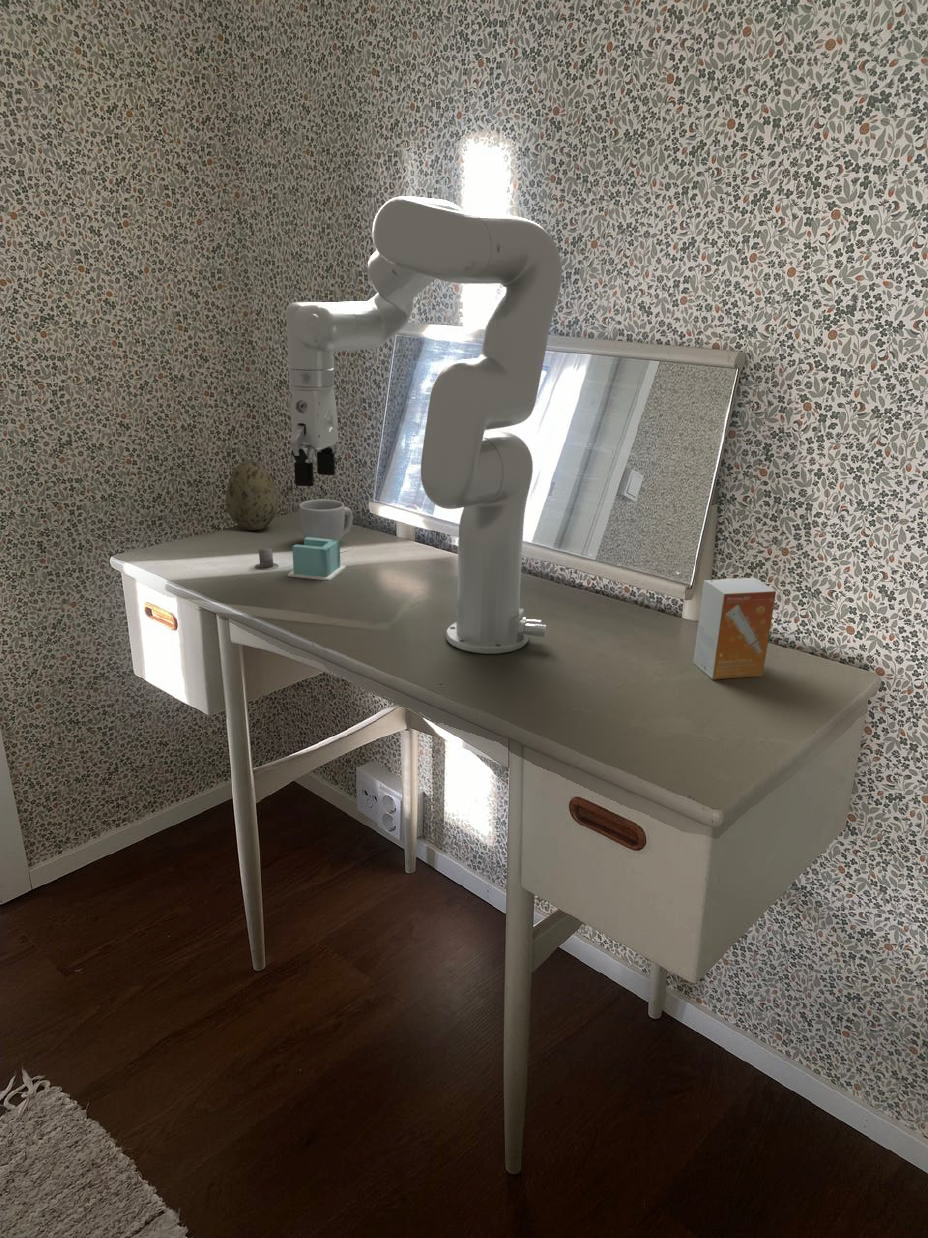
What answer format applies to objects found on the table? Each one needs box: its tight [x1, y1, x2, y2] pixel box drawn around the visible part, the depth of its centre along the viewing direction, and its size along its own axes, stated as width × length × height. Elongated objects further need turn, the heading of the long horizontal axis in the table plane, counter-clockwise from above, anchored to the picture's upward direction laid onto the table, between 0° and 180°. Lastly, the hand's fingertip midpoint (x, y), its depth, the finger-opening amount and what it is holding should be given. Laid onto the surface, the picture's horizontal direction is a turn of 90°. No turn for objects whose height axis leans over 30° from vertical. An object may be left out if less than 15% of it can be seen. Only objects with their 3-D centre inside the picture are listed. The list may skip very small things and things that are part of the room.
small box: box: [693, 577, 777, 681], centre depth 132 cm, size 8×6×13 cm
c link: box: [291, 537, 341, 577], centre depth 167 cm, size 6×6×5 cm
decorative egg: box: [225, 459, 279, 532], centre depth 196 cm, size 11×11×15 cm
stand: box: [254, 547, 280, 571], centre depth 169 cm, size 20×12×5 cm, turn 76°
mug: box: [298, 498, 354, 542], centre depth 184 cm, size 12×9×10 cm
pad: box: [287, 564, 347, 582], centre depth 168 cm, size 8×8×1 cm
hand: (315, 479), depth 162 cm, fingers open, 9 cm apart
